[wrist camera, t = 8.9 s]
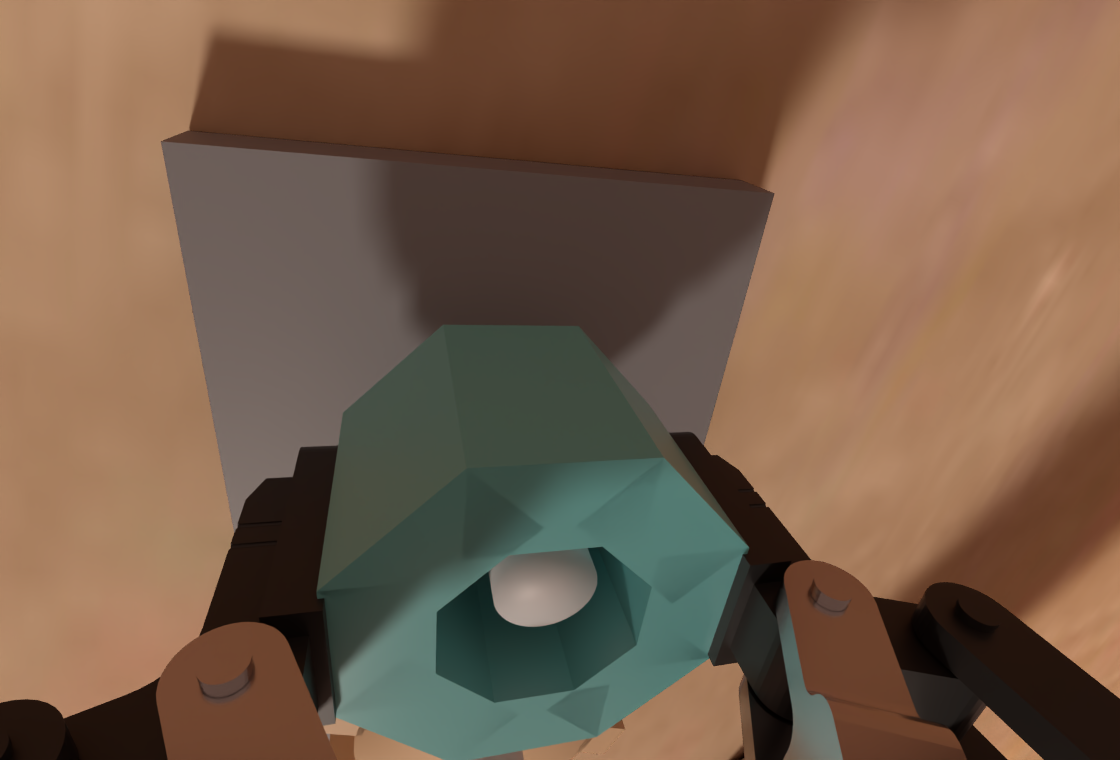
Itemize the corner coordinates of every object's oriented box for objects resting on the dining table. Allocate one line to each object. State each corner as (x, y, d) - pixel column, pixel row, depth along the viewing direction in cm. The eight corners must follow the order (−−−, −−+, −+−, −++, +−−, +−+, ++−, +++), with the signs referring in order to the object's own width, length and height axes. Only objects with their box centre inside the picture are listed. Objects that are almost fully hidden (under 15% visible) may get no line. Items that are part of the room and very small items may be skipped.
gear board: (741, 180, 14) (1011, 286, 8) (620, 660, 23) (705, 897, 16) (188, 131, 11) (-85, 239, 5) (283, 707, 20) (228, 1023, 13)
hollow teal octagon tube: (665, 327, 11) (783, 451, 8) (616, 554, 14) (688, 720, 10) (336, 323, 10) (303, 477, 6) (354, 580, 12) (338, 784, 9)
